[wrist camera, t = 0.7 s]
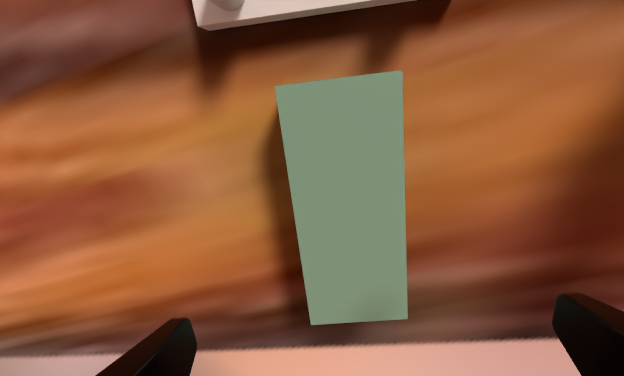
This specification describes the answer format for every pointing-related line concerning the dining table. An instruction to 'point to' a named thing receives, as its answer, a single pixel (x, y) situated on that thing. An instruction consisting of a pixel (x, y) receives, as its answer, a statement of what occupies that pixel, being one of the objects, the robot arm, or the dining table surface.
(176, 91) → the dining table surface
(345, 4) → the plate
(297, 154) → the green board
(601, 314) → the robot arm
